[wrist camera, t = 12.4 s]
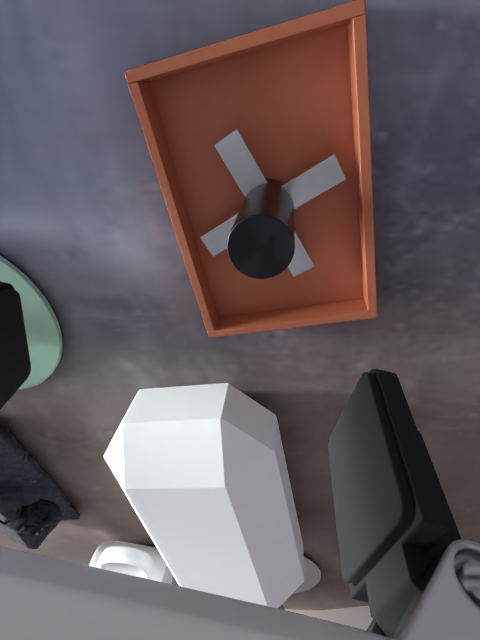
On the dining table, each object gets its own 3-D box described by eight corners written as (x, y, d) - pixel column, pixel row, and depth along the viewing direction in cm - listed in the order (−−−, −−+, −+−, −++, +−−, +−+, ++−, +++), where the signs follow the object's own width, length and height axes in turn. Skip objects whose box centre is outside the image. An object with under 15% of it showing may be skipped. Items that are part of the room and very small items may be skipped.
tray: (139, 73, 21) (122, 70, 19) (357, 7, 19) (365, -3, 16) (214, 320, 30) (208, 338, 28) (370, 300, 27) (377, 317, 25)
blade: (179, 142, 22) (130, 163, 16) (337, 102, 20) (360, 108, 14) (217, 280, 27) (193, 342, 20) (349, 259, 25) (370, 321, 18)
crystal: (263, 450, 23) (309, 633, 37) (270, 356, 31) (305, 536, 45) (63, 457, 26) (175, 624, 40) (117, 370, 34) (195, 534, 48)
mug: (176, 569, 54) (160, 637, 47) (115, 560, 55) (91, 626, 48) (171, 525, 47) (151, 597, 41) (102, 516, 48) (71, 584, 41)
